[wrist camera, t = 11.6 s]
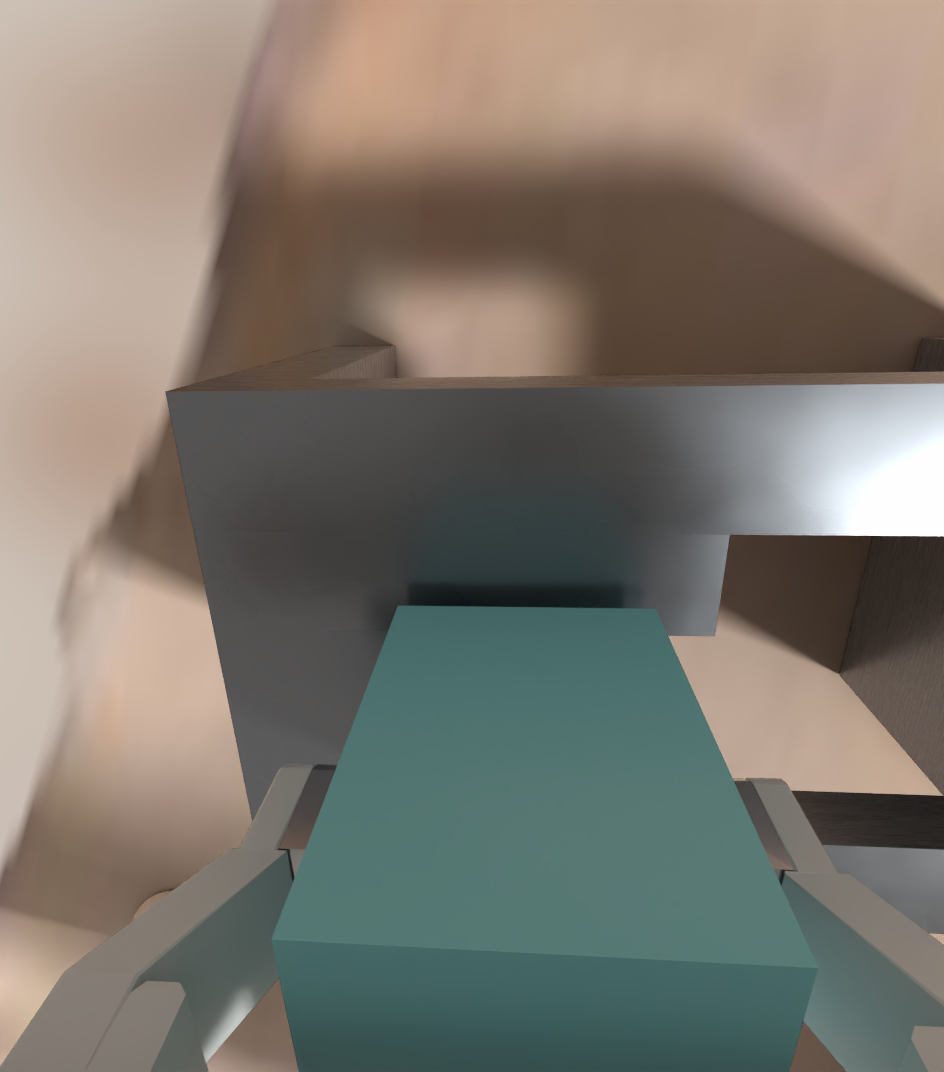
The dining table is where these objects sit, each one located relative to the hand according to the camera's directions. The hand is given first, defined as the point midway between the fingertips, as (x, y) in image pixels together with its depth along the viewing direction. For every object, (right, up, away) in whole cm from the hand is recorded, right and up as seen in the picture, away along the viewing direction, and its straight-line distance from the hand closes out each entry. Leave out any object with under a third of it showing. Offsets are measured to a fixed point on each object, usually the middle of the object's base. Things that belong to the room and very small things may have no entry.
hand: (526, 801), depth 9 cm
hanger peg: (0, +2, +6) cm, 6 cm away
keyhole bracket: (+5, +5, +11) cm, 13 cm away
